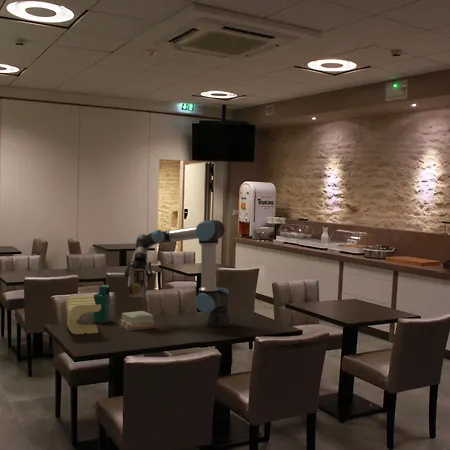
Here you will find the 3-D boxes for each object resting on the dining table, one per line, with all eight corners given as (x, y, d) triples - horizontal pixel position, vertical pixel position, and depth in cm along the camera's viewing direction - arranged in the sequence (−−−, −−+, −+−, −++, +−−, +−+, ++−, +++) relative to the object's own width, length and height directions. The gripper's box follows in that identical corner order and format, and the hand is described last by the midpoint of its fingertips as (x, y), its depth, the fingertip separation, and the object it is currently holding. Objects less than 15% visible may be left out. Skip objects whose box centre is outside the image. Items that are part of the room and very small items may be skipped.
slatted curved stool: (65, 325, 325) (66, 296, 324) (93, 324, 331) (93, 295, 330) (70, 338, 297) (71, 305, 296) (100, 336, 303) (101, 304, 302)
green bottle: (103, 323, 333) (104, 287, 332) (91, 322, 336) (92, 286, 335) (112, 320, 343) (112, 285, 342) (100, 319, 345) (100, 284, 344)
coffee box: (146, 295, 331) (147, 269, 330) (144, 297, 324) (144, 270, 323) (131, 294, 332) (132, 268, 331) (128, 296, 325) (129, 269, 324)
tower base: (155, 328, 326) (155, 322, 326) (129, 331, 317) (130, 324, 317) (143, 323, 340) (143, 317, 339) (119, 326, 331) (119, 319, 331)
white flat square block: (153, 321, 327) (153, 315, 327) (131, 324, 319) (131, 317, 319) (142, 317, 338) (142, 310, 338) (121, 319, 330) (121, 313, 330)
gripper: (158, 260, 343) (156, 289, 328) (123, 259, 342) (119, 288, 327) (158, 252, 337) (155, 282, 322) (122, 251, 336) (118, 281, 321)
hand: (137, 285), depth 324 cm, fingers closed on coffee box, 9 cm apart
